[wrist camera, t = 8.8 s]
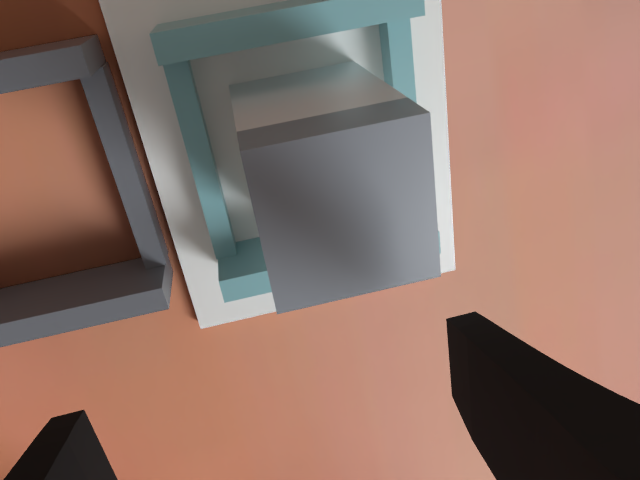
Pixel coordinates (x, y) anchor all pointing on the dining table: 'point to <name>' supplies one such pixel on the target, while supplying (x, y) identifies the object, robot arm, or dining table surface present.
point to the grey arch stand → (154, 267)
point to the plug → (337, 183)
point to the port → (219, 125)
